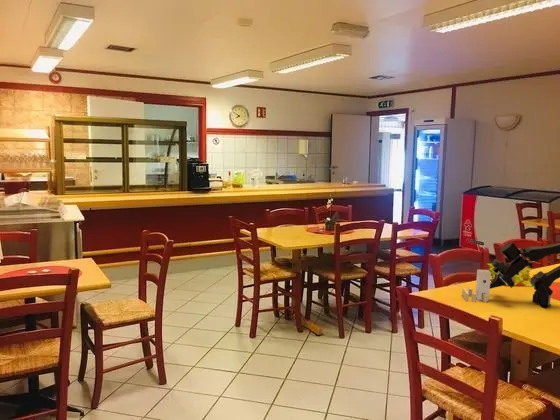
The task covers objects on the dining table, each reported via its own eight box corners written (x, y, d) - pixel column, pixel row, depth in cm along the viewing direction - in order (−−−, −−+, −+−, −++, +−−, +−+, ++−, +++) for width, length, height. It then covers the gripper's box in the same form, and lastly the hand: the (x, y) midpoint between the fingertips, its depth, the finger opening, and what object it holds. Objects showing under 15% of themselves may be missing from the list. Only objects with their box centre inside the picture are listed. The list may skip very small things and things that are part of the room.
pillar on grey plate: (486, 297, 227) (488, 270, 225) (488, 301, 222) (490, 272, 220) (475, 297, 228) (477, 269, 226) (477, 300, 223) (479, 272, 221)
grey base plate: (498, 298, 229) (499, 289, 229) (505, 306, 218) (506, 297, 217) (461, 296, 233) (462, 287, 232) (466, 303, 221) (467, 294, 220)
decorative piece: (536, 265, 269) (534, 276, 244) (535, 278, 270) (532, 290, 245) (487, 259, 283) (480, 269, 257) (486, 272, 283) (479, 283, 258)
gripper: (498, 250, 230) (473, 270, 233) (509, 258, 212) (481, 280, 215) (514, 267, 229) (488, 287, 233) (526, 276, 211) (498, 298, 215)
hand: (488, 287), depth 224 cm, fingers closed, pressing on pillar on grey plate
